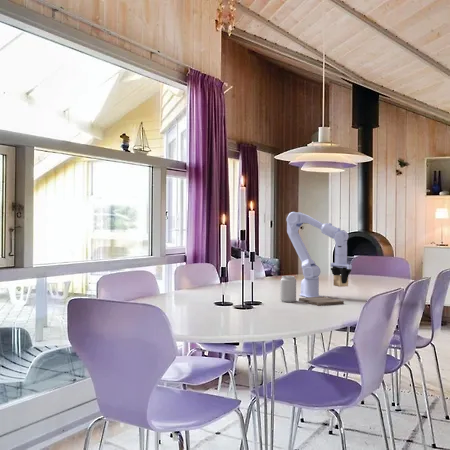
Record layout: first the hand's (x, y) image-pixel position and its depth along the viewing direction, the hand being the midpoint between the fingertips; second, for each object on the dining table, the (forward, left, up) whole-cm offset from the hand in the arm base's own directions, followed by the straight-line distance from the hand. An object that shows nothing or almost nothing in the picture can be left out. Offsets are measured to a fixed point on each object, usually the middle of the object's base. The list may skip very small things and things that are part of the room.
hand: (340, 282), depth 244 cm
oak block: (0, 0, -2) cm, 2 cm away
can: (-3, -28, -8) cm, 29 cm away
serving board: (+5, -15, -8) cm, 18 cm away
